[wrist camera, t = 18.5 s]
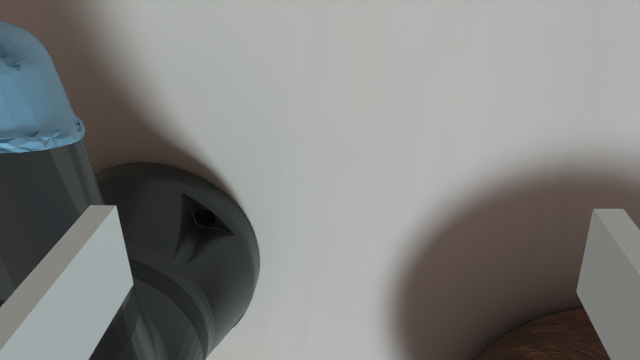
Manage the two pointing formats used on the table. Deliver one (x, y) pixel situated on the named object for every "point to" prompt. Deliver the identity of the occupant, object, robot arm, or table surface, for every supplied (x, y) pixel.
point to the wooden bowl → (550, 340)
